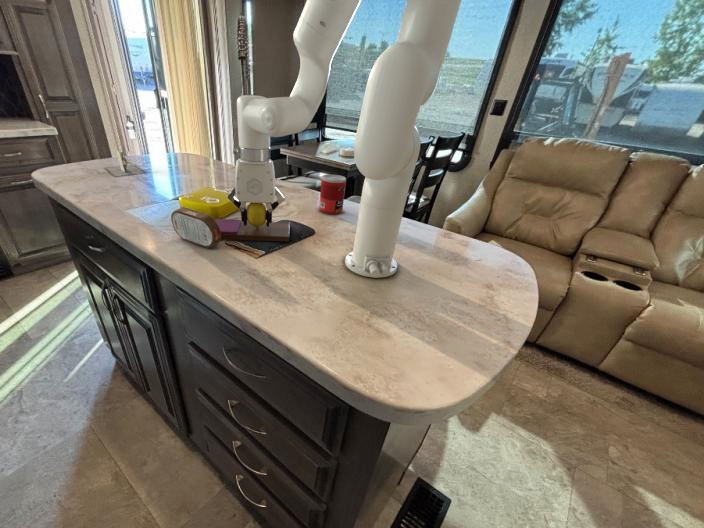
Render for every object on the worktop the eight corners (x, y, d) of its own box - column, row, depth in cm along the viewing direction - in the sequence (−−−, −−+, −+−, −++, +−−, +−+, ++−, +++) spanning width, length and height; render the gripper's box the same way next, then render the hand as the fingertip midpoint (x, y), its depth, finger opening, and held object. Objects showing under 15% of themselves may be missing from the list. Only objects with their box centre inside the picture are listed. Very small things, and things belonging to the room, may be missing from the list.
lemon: (263, 233, 89) (263, 204, 84) (244, 230, 89) (242, 201, 85) (269, 225, 93) (269, 197, 89) (251, 223, 94) (249, 195, 89)
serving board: (289, 241, 88) (289, 236, 88) (206, 239, 87) (206, 233, 86) (289, 227, 97) (289, 222, 96) (214, 224, 95) (213, 219, 95)
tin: (223, 248, 83) (220, 216, 78) (214, 252, 81) (211, 220, 76) (181, 233, 89) (176, 203, 84) (172, 237, 87) (166, 206, 82)
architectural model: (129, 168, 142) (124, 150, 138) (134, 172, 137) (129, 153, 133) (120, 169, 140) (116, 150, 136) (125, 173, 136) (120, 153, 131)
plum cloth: (236, 234, 87) (236, 232, 87) (210, 233, 87) (210, 231, 87) (241, 221, 95) (241, 219, 94) (216, 220, 94) (216, 218, 94)
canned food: (339, 216, 107) (343, 181, 100) (316, 212, 109) (318, 178, 102) (344, 209, 113) (348, 176, 106) (322, 205, 115) (325, 173, 108)
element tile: (244, 207, 109) (244, 192, 107) (217, 221, 98) (215, 205, 95) (208, 199, 114) (207, 185, 111) (178, 211, 103) (175, 196, 100)
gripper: (216, 155, 77) (223, 228, 87) (289, 159, 78) (287, 231, 88) (222, 149, 83) (227, 218, 93) (289, 153, 84) (287, 220, 94)
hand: (256, 223), depth 91 cm, fingers closed on lemon, 5 cm apart
